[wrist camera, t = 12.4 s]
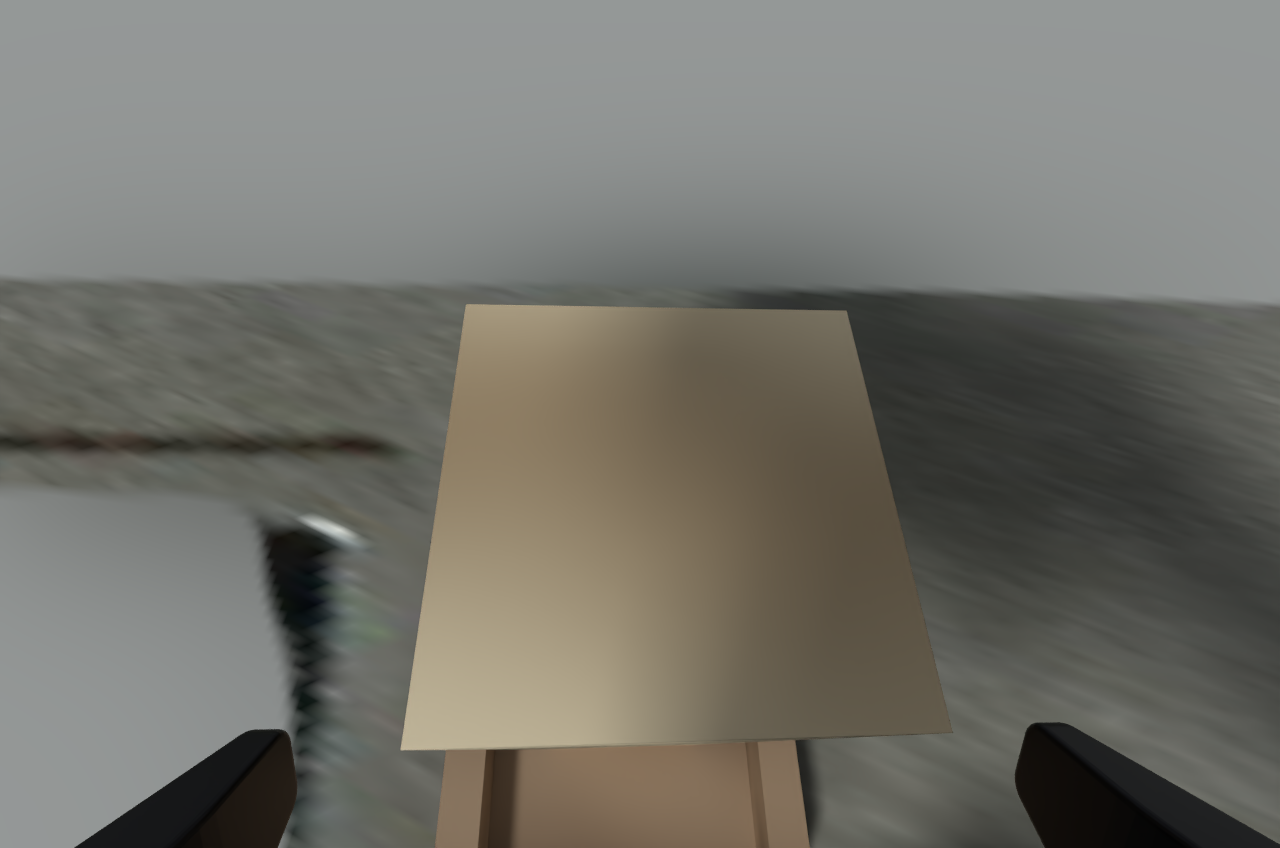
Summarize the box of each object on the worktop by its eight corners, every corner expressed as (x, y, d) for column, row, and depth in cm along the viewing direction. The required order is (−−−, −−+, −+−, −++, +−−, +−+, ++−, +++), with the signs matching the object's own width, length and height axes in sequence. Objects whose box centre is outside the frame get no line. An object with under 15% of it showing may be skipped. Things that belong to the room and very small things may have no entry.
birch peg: (693, 744, 17) (953, 733, 4) (550, 749, 16) (400, 749, 4) (684, 600, 19) (846, 310, 6) (556, 602, 18) (466, 305, 6)
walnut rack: (791, 912, 16) (821, 939, 14) (447, 931, 15) (421, 961, 13) (741, 493, 21) (757, 464, 19) (491, 494, 21) (478, 465, 19)
